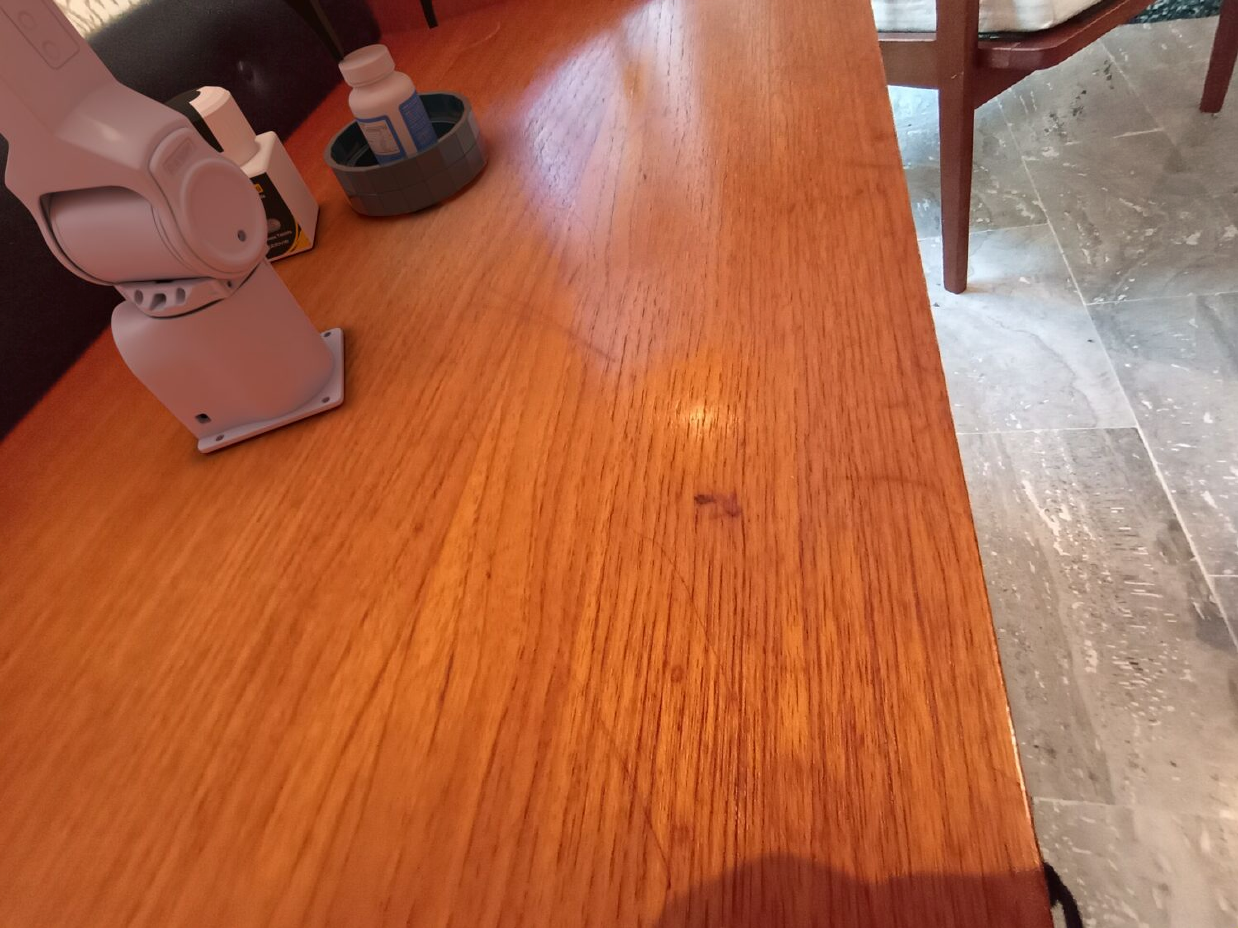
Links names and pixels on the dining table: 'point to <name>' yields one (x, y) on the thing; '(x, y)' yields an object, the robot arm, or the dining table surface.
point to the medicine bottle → (256, 167)
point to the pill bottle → (386, 104)
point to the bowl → (410, 161)
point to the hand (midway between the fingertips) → (386, 40)
